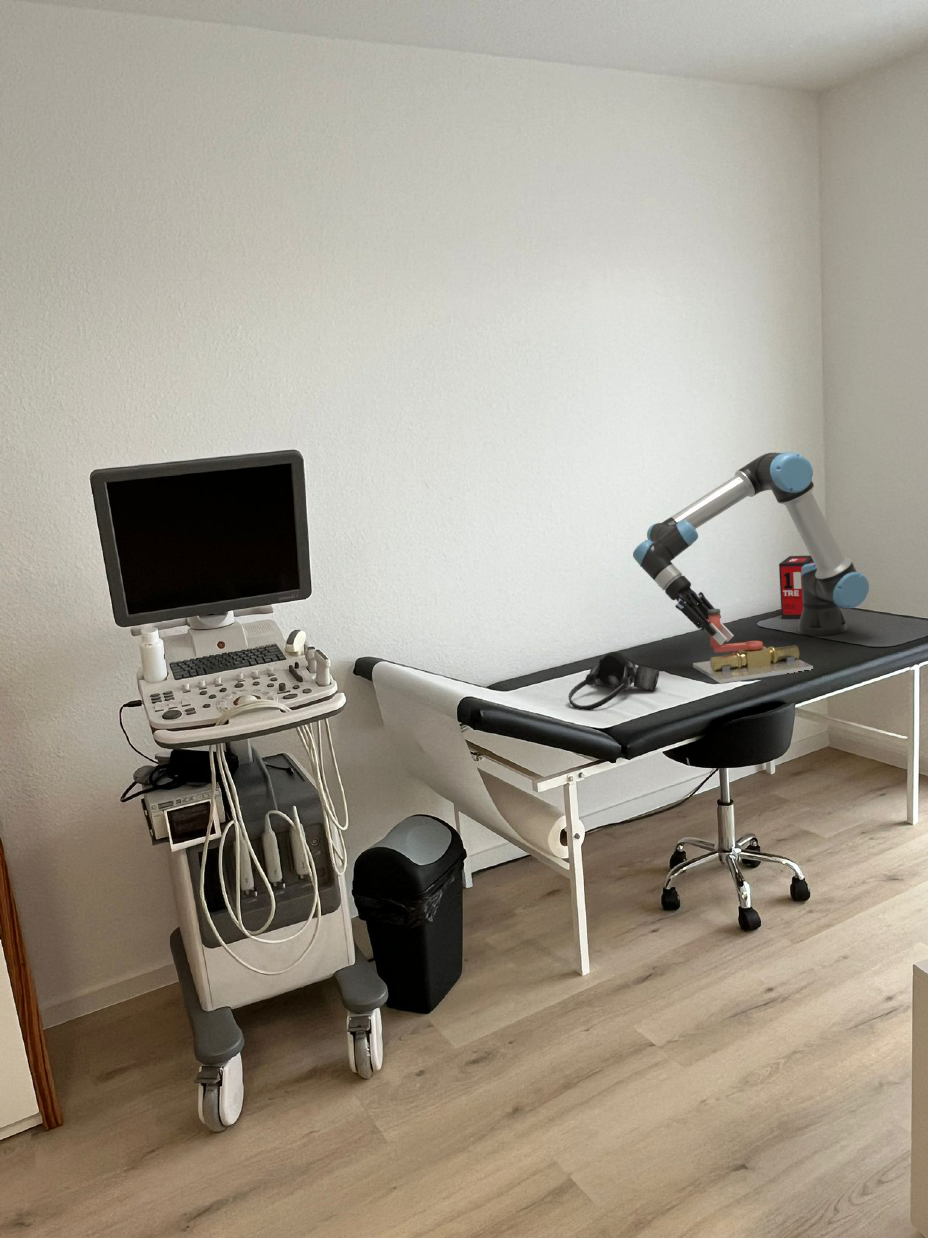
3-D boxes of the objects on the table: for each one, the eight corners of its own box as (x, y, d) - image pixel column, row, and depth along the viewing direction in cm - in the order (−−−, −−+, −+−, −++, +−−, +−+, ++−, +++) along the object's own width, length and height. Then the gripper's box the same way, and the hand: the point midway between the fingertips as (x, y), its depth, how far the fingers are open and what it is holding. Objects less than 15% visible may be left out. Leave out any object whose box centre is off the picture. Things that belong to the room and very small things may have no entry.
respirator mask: (669, 675, 281) (646, 640, 271) (639, 746, 271) (614, 712, 260) (604, 669, 296) (580, 635, 286) (573, 735, 286) (546, 703, 276)
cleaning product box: (792, 609, 362) (789, 556, 358) (817, 609, 358) (814, 555, 354) (781, 619, 348) (779, 563, 345) (807, 619, 344) (805, 563, 340)
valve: (779, 654, 302) (778, 635, 301) (812, 669, 281) (812, 649, 280) (693, 667, 298) (691, 648, 297) (720, 683, 278) (719, 663, 277)
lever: (760, 645, 290) (758, 603, 288) (764, 648, 286) (762, 607, 283) (708, 649, 292) (706, 609, 289) (711, 653, 287) (709, 612, 284)
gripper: (680, 586, 302) (732, 641, 294) (652, 597, 290) (705, 655, 282) (694, 569, 297) (748, 625, 289) (666, 580, 286) (721, 639, 278)
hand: (727, 640), depth 286 cm, fingers closed on lever, 3 cm apart
